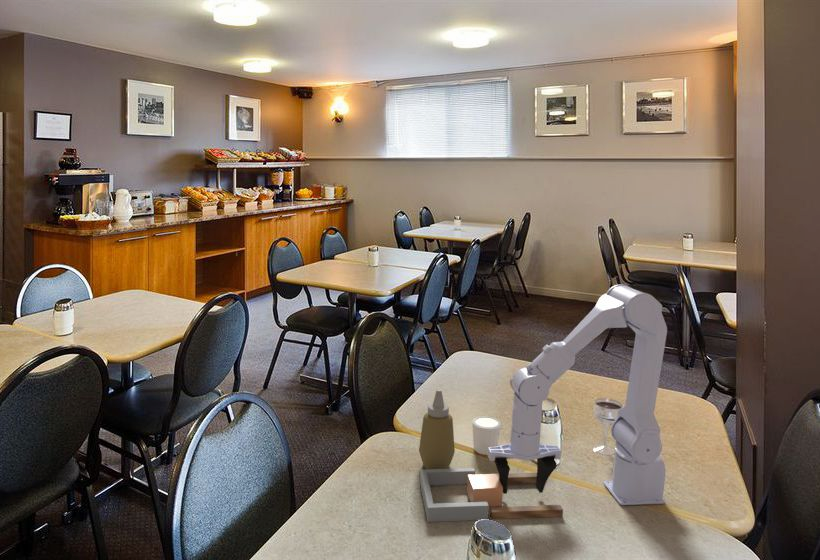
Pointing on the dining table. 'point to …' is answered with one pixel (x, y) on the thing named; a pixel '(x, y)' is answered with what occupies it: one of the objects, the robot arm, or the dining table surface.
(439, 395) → the squeeze bottle
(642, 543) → the dining table surface
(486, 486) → the block
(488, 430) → the white cup
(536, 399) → the robot arm
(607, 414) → the wineglass
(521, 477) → the channel
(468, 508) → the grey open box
